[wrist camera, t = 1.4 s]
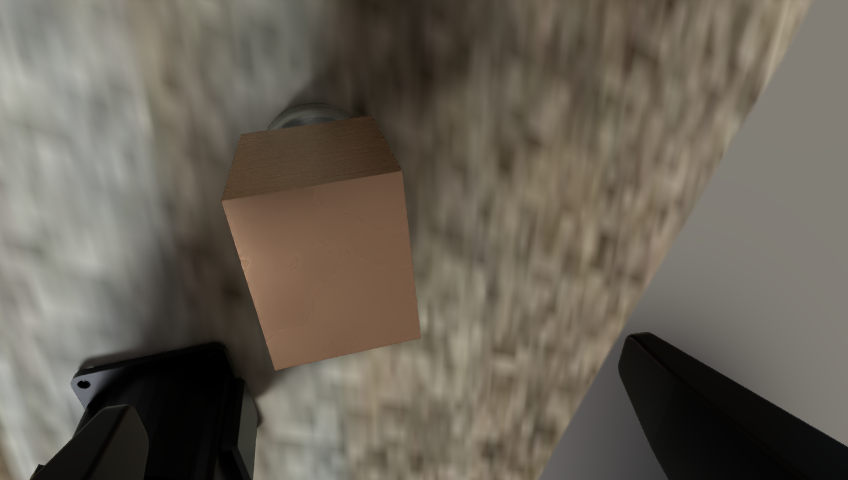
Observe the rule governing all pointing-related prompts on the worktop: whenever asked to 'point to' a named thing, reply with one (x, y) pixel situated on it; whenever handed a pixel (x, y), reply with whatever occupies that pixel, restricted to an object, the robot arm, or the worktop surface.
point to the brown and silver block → (323, 235)
